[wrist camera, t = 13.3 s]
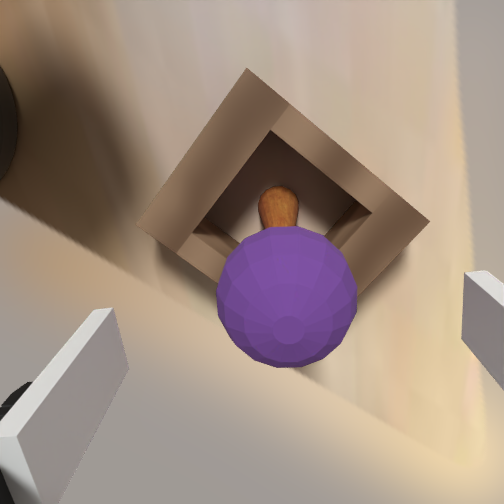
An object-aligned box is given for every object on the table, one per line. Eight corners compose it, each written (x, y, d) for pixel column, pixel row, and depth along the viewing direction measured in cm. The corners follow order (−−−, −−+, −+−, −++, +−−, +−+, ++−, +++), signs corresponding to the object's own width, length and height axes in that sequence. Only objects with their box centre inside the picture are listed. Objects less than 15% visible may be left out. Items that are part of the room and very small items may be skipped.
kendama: (270, 254, 36) (270, 422, 17) (227, 198, 34) (174, 313, 15) (329, 214, 34) (402, 347, 15) (287, 154, 33) (310, 220, 14)
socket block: (153, 208, 35) (135, 224, 30) (250, 73, 31) (246, 67, 26) (303, 317, 38) (307, 348, 33) (407, 205, 34) (430, 221, 29)
